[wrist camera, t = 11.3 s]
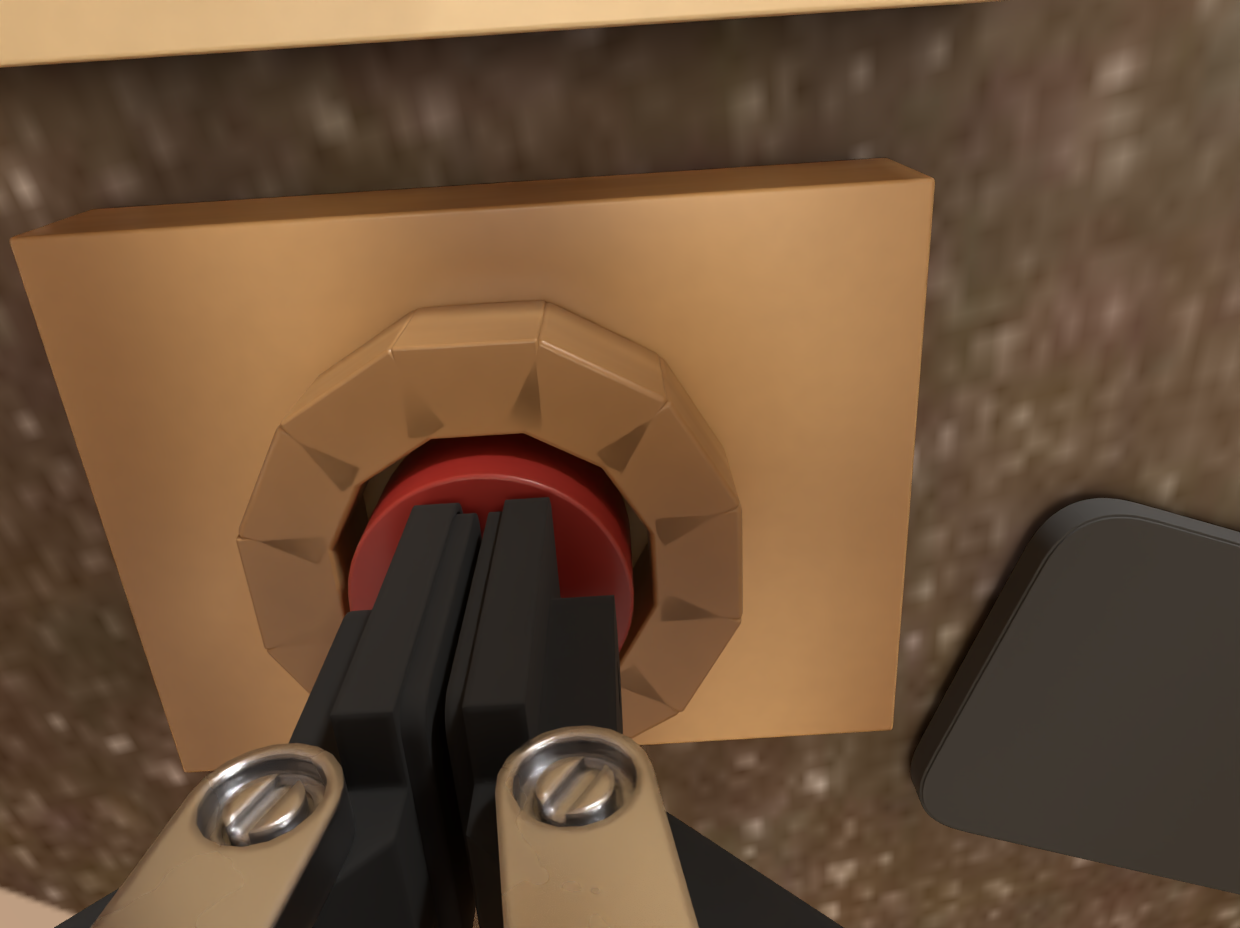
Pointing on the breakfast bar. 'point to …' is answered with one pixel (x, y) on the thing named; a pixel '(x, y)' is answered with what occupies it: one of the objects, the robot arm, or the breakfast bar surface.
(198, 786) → the robot arm
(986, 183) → the breakfast bar surface
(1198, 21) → the breakfast bar surface
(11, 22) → the dial plate
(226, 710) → the wooden button base
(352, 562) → the bell button
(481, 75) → the breakfast bar surface
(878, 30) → the breakfast bar surface
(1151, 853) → the phone
